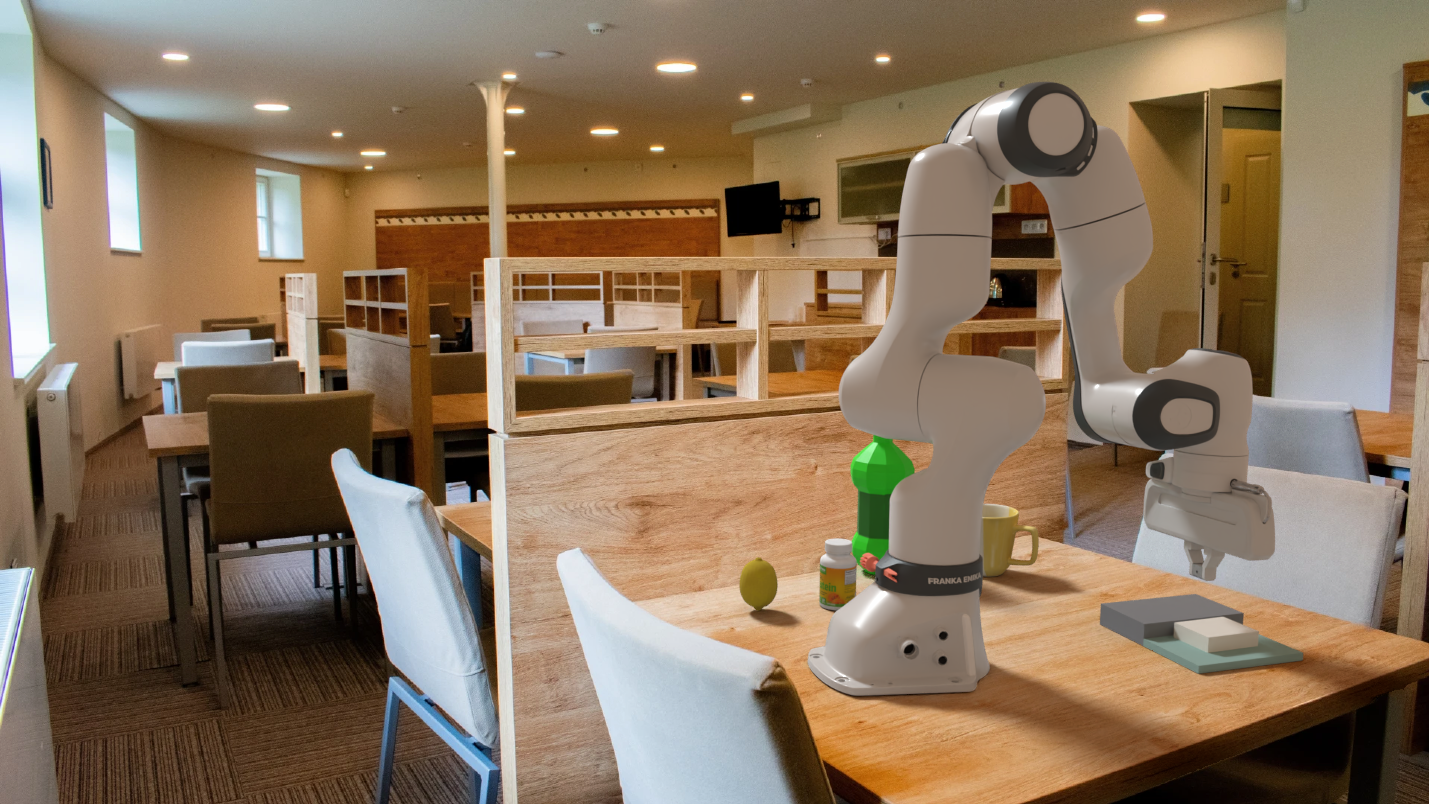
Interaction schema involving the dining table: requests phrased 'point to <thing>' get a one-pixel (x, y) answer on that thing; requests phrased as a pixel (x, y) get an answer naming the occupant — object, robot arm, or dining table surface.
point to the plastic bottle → (876, 494)
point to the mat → (1222, 654)
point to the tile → (1216, 634)
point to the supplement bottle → (837, 574)
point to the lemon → (758, 583)
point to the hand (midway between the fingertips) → (1202, 578)
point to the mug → (1002, 539)
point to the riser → (1160, 615)
